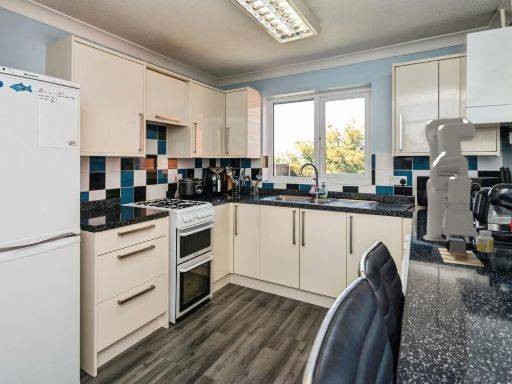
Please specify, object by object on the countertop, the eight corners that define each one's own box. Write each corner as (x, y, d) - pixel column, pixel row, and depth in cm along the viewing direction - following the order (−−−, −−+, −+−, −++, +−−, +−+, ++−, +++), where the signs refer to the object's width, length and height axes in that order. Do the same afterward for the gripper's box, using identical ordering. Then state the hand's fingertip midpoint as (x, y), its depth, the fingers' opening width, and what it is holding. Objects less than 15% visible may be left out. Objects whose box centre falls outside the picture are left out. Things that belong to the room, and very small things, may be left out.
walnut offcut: (453, 256, 117) (453, 251, 117) (465, 258, 115) (465, 253, 115) (454, 259, 114) (455, 254, 113) (467, 261, 112) (468, 255, 112)
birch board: (437, 251, 131) (438, 247, 131) (471, 254, 125) (471, 251, 125) (443, 265, 111) (444, 261, 111) (484, 270, 106) (484, 266, 106)
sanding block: (447, 249, 128) (448, 237, 128) (461, 250, 126) (462, 238, 126) (450, 254, 121) (450, 241, 121) (465, 255, 119) (466, 243, 118)
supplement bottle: (489, 253, 128) (490, 230, 127) (495, 256, 123) (496, 232, 122) (474, 252, 129) (475, 229, 129) (479, 255, 124) (480, 232, 124)
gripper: (434, 207, 122) (433, 251, 124) (486, 209, 115) (484, 256, 116) (433, 205, 129) (431, 247, 130) (482, 207, 122) (479, 251, 123)
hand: (456, 250), depth 123 cm, fingers closed on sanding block, 5 cm apart
